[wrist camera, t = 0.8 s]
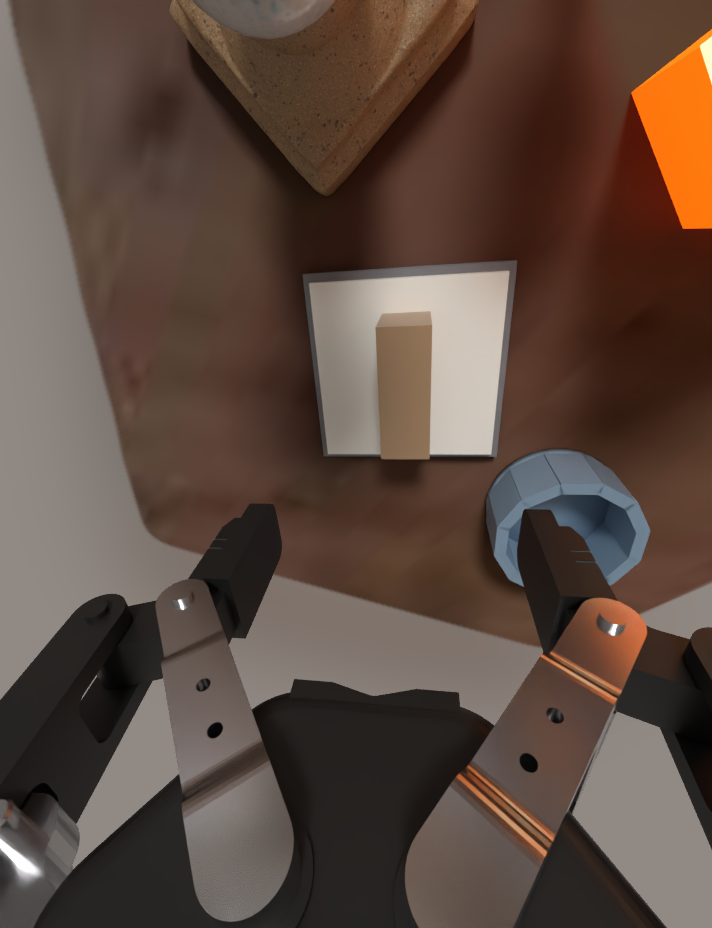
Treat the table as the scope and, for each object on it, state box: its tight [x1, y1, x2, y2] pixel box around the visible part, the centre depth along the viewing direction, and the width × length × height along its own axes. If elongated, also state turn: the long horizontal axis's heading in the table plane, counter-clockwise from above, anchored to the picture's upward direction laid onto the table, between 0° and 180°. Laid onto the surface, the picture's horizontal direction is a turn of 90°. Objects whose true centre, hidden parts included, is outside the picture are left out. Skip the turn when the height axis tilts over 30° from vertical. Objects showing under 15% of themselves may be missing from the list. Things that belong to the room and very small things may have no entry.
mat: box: [302, 260, 517, 457], centre depth 29 cm, size 13×13×1 cm
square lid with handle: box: [309, 271, 510, 459], centre depth 26 cm, size 12×12×5 cm
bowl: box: [486, 448, 650, 587], centre depth 30 cm, size 10×10×5 cm
